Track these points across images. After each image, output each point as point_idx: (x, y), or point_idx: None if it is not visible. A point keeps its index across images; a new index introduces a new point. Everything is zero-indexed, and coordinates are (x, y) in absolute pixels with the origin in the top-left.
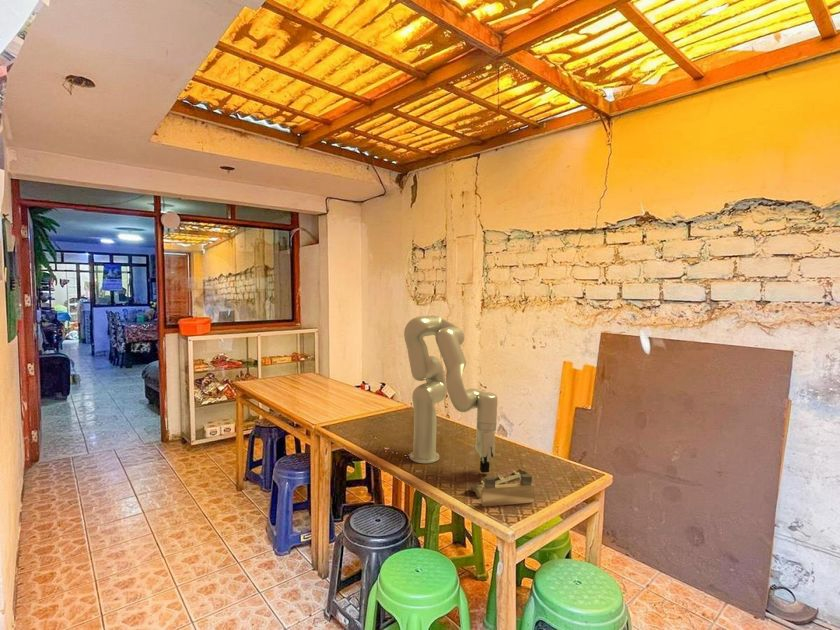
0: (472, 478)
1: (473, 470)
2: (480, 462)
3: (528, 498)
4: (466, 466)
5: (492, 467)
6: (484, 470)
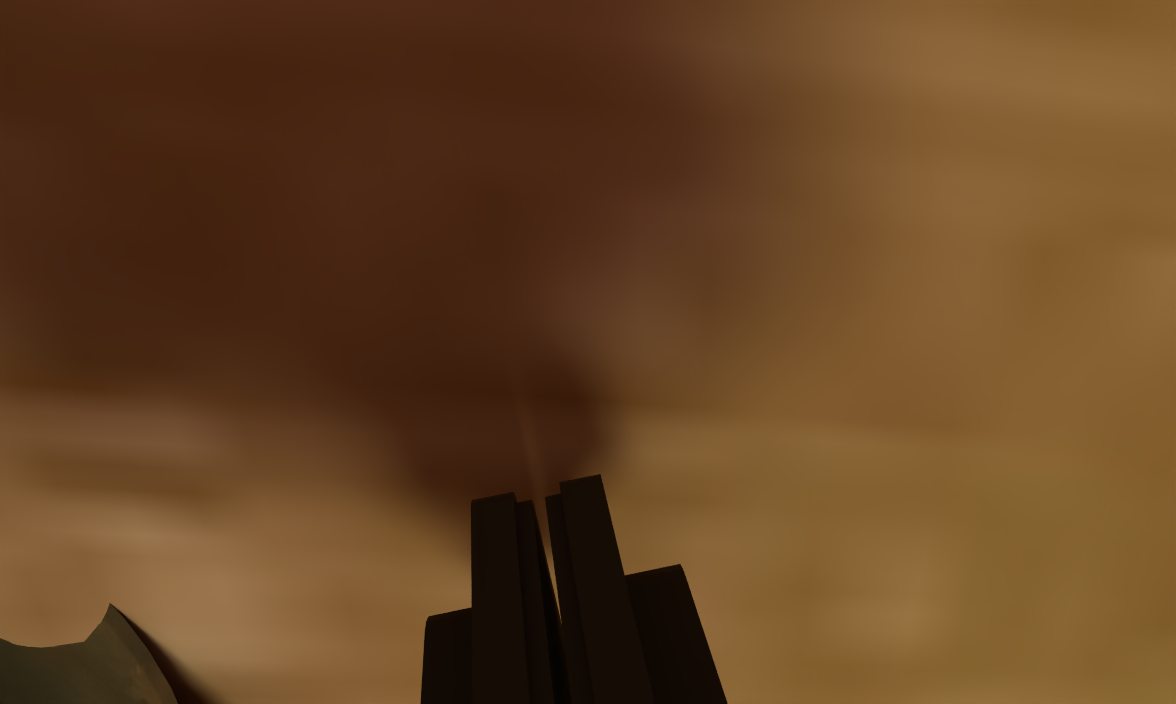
0: (238, 168)
1: (828, 259)
2: (616, 700)
3: None
4: (1142, 67)
5: (935, 686)
6: (428, 631)
